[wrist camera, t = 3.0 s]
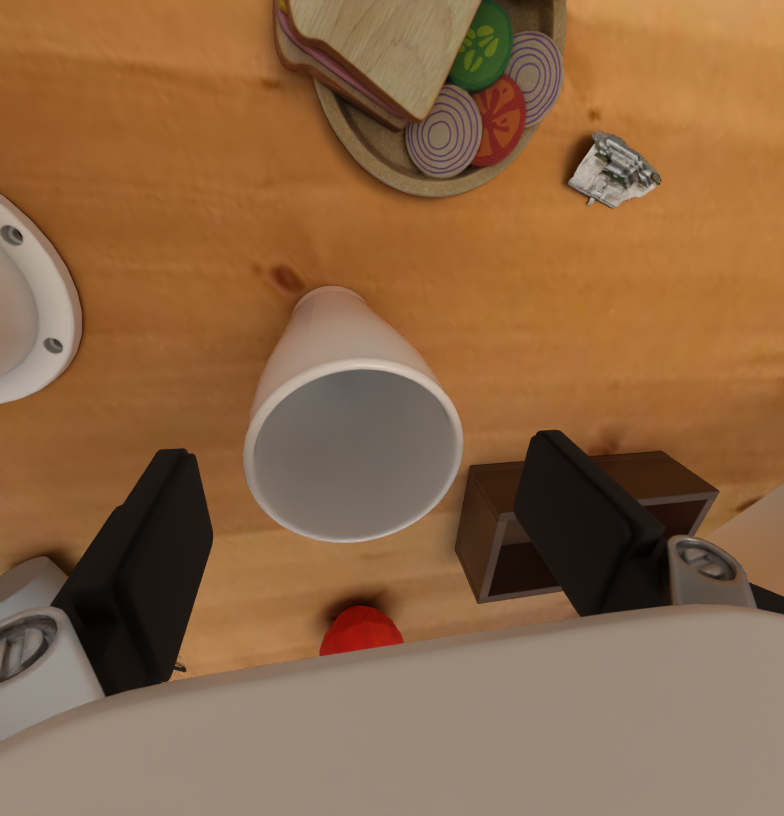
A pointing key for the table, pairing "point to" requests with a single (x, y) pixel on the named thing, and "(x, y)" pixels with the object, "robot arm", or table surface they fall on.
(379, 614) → the apple
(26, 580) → the reed diffuser
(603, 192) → the silver ridged wedge
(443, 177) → the toy sandwich meal
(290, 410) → the tall white cup
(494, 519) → the divided wooden box
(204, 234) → the table surface
